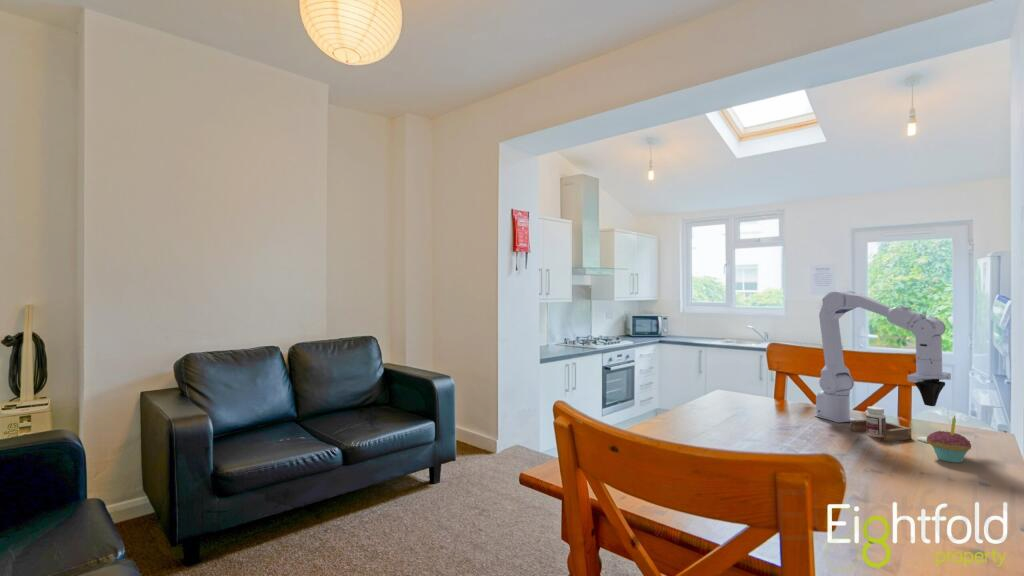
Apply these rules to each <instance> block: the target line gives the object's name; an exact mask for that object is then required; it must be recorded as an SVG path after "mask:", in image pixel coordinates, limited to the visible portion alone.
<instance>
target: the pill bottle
mask: <svg viewBox="0 0 1024 576" xmlns="http://www.w3.org/2000/svg"><path fill="white" fill-rule="evenodd" d="M866 408H867V410H866V411H867V412H866V414H865V419H866V430H865V431H866V435H868V436H870V437H875V438H884V430H886V422H887V421H886V418H887V417H886V415H885V414H884V413H885V409H884V408H883V407H879V406H874V405H873V406H867V407H866Z"/></svg>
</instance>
